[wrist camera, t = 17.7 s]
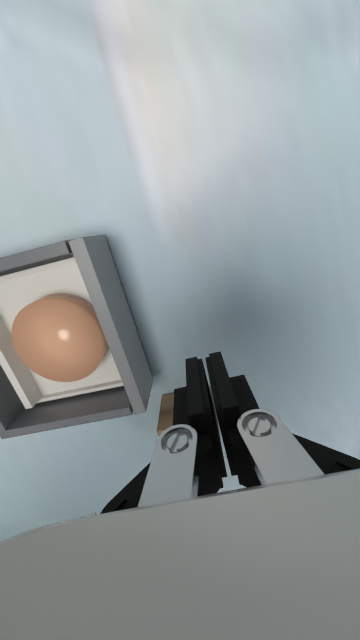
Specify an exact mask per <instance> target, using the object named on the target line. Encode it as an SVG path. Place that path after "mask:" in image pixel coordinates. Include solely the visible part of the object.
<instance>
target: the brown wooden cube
mask: <svg viewBox="0 0 360 640" xmlns="http://www.w3.org/2000/svg"><path fill="white" fill-rule="evenodd" d="M173 407H174V393H170V394H165V395H162V400H161V407H160V414H159V421H158V428H157V432H158V435H159V436H160V435H161V434H162V432H163V431H165V430H166V429H168V428H169V427H172V426H173ZM215 416H216V415H215ZM216 421H217V419H216ZM217 426H218V423H217ZM218 431H219V429H218ZM219 437H220V435H219Z"/></svg>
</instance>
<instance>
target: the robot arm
mask: <svg viewBox="0 0 360 640" xmlns="http://www.w3.org/2000/svg"><path fill="white" fill-rule="evenodd" d="M209 356H210V357H207V358H205V359H206V364H207V369H208V374H209V379H210V384H211V389H212V394H213V399H214V404H215V409H216V413H217V417H218V421H219V426H220V430H221V434H222V438H223V442H224V446H225V450H226V454H227V459H228V463H229V467H230V471H231V475H232V476H233V475H238V479H239V483H240V485H243V486H245V487H247V488H243V489H237V490H231V491H225V492H220V493H217V492H218V490H219V489H220V488H223V482H222V477H227V473H226V468H225V463H224V457H223V452H222V447H221V442H220V437H219V431H218V426H217V421H216V416H215V411H214V406H213V402H212V398H211V394H210V390H209V386H208V382H207V378H206V373H205V369H204V365H203V361H202V359H197V357H193V358H189V359H186V383H187V387H183V388H178V389H175V390H174V407H173V426H172V427H169V428H168V429H166V430H165V431H163V432H162V434H161V435H160V436H159V438H158V440H157V443H156V446H155V450H154V453H153V457H152V460H151V462H150V463H149V464H148V465H147V466H146V467H145V468H144V469H143V470H142V471H141V472H140V473H139V474H138V475H137V476H136V477H135V478H134V479H133V480H132V481H130V482H129V483H128V484H127V485H126V486H125V487H124V488H123V489H122V490H121V491H120V492H119V493H118V494H117V495H116V496H115V497H114V498H113V499H112V500H111V501H110V502H109V503H108V504H107V505H106V506H105V508H104V509H103V510H102V512H101V514H98V515H97V514H96V512H93V513H90V514H88V515H86V516H83V517H81V518H78V519H73V520H69V521H64V522H60V523H56V524H51V525H47V526H43V527H40V528H36V529H33V530H30V531H27V532H24V533H21V534H19V535H17V536H14V537H12V538H9V539H7V540H5V541H3V542H1V543H0V640H360V460H358V459H356V458H354V457H351V456H349V455H346V454H344V453H341V452H339V451H336V450H333V449H331V448H328V447H326V446H323V445H321V444H318V443H315V442H313V441H310V440H308V439H305V438H303V437H300V436H298V435H295V434H292V433H291V432H290V430H289V429H288V428H287V427H286V425H285V424H284V423H283V422H282V420H281V419H280V418H279V417H278V416H277V415H276V414H275V413H273V412H271V411H269V410H265V409H259V407H258V404H257V402H256V400H255V398H254V396H253V393H252V391H251V389H250V387H249V385H248V382H247V380H246V378H245V376H244V375H240V376H235V377H230V378H229V376H228V373H227V370H226V367H225V364H224V361H223V358H222V355H221V352H216V353H211V354H209Z"/></svg>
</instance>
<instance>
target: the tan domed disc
mask: <svg viewBox="0 0 360 640" xmlns="http://www.w3.org/2000/svg"><path fill="white" fill-rule="evenodd" d="M11 336H12V343H13V346H14V349H15V351H16V353H17V355H18V356H19V358H20V359H21V360H22V362H23V363H24V364H25V365H26V366H27V367H28V368H29V369H31V370H32V371H33V372H35V373H36V374H38V375H40V376H42V377H44V378H46V379H49V380H53V381H57V382H73V381H78V380H81V379H83V378H86V377H87V376H89V375H90V374H91V373H93V372H94V371H95V370H96V368H97V367H98V365H99V364H100V362H101V361H102V359H103V357H104V356H105V354H106V353H107V350H108V348H109V346H108V343H107V341H106V338H105V336H104V333H103V330H102V328H101V325H100V323H99V320H98V317H97V315H96V312H95V310H94V307H93V305H92V304H91V303H90V302H88V301H87V300H85V299H83V298H81V297H79V296H76V295H73V294H68V293H54V294H50V295H47V296H44V297H42V298H40V299H38V300H36V301H34V302H32V303H30V304H28V305H27V306H25V307H24V308H22V309H21V310H20V312H19V313H18V314H17V315H16V317H15V319H14V321H13V325H12V330H11Z"/></svg>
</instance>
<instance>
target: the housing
mask: <svg viewBox="0 0 360 640" xmlns="http://www.w3.org/2000/svg"><path fill="white" fill-rule="evenodd" d="M68 241H72V240H67V241H62V242H58V243H55V244H51V245H47V246H44V247H40V248H36V249H33V250H29V251H25V252H22V253H18V254H14V255H11V256H7V257H3V258H0V276H4V275H7V274H11V273H15V272H19V271H23V270H26V269H30V268H34V267H38V266H41V265H45V264H49V263H53V262H57V261H60V260H64V259H68V258H72V257H74V255H73V252H72V250H71V247H70V245H69V242H68ZM132 413H133V408H132V406H131V403H130V400H129V398H128V395H127V393H126V390H125V387H124V386H120V387H115V388H110V389H105V390H100V391H95V392H90V393H85V394H80V395H75V396H70V397H65V398H60V399H55V400H50V401H45V402H40V403H36V404H35V405H34V407H33V408H29V409H25V407H24V405H23V403H22V402H21V400H20V398H19V396H18V395H17V393H16V391H15V389H14V388H13V386H12V384H11V382H10V380H9V379H8V377H7V375H6V373H5V372H4V370H3V368H2V366H1V365H0V437H1V438H2V439H4V438H10V437H15V436H21V435H26V434H31V433H37V432H42V431H47V430H53V429H58V428H63V427H69V426H74V425H80V424H85V423H90V422H96V421H101V420H106V419H112V418H117V417H122V416H128V415H132Z"/></svg>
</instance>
